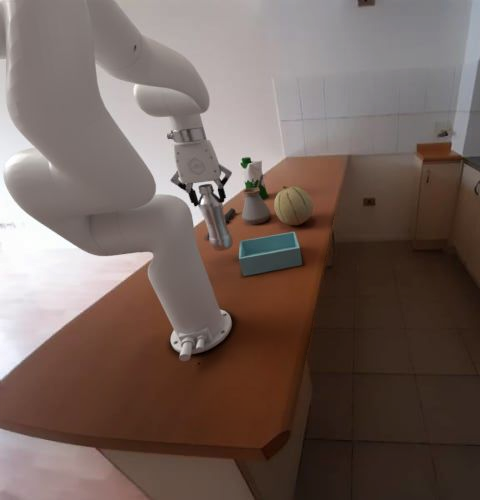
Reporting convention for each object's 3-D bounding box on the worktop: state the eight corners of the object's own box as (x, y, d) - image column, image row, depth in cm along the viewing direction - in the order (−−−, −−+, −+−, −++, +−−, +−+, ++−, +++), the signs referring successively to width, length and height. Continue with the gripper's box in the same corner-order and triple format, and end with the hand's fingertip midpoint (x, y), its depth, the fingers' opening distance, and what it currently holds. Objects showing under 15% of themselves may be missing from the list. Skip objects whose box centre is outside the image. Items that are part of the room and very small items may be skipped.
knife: (229, 211, 123) (231, 206, 122) (238, 216, 124) (240, 211, 122) (196, 236, 102) (198, 231, 101) (208, 243, 103) (210, 237, 102)
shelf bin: (302, 265, 83) (299, 247, 80) (243, 276, 80) (238, 258, 77) (297, 247, 93) (294, 231, 90) (244, 257, 90) (240, 240, 86)
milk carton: (245, 200, 138) (235, 158, 128) (258, 194, 144) (250, 154, 134) (257, 202, 134) (248, 159, 124) (270, 196, 140) (263, 155, 130)
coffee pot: (266, 226, 109) (259, 189, 102) (239, 226, 110) (229, 190, 103) (281, 206, 127) (275, 173, 120) (257, 206, 129) (250, 174, 121)
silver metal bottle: (227, 254, 83) (209, 189, 74) (208, 253, 85) (187, 189, 75) (238, 244, 89) (222, 182, 79) (219, 243, 90) (201, 182, 81)
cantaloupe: (312, 231, 102) (307, 192, 95) (273, 232, 104) (265, 193, 96) (316, 215, 115) (313, 179, 108) (282, 216, 116) (276, 181, 109)
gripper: (148, 141, 66) (174, 212, 75) (223, 134, 69) (240, 202, 78) (157, 138, 73) (180, 203, 81) (226, 131, 76) (241, 195, 84)
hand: (209, 202), depth 80 cm, fingers closed on silver metal bottle, 6 cm apart
